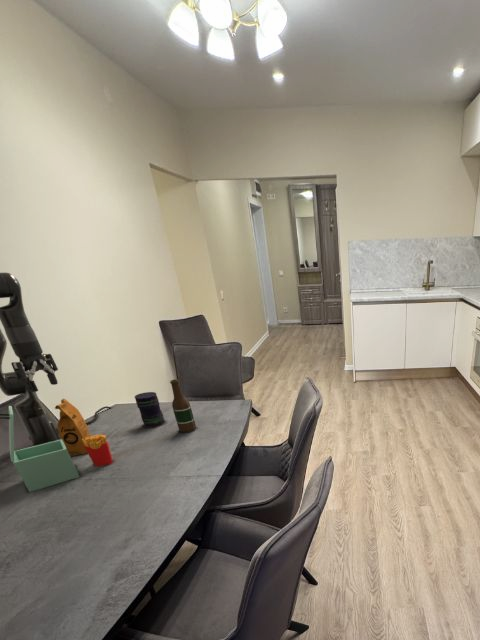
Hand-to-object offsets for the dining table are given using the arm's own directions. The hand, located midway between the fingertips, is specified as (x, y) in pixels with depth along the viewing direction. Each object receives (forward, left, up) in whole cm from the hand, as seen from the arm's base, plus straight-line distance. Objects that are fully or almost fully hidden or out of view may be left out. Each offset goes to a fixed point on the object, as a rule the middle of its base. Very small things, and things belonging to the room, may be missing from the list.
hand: (45, 387), depth 138 cm
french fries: (-6, +5, -34) cm, 34 cm away
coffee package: (-17, -15, -34) cm, 41 cm away
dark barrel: (-49, -1, -33) cm, 60 cm away
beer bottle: (-43, +21, -33) cm, 58 cm away
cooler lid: (+11, -9, -13) cm, 19 cm away
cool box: (+7, -6, -33) cm, 35 cm away
